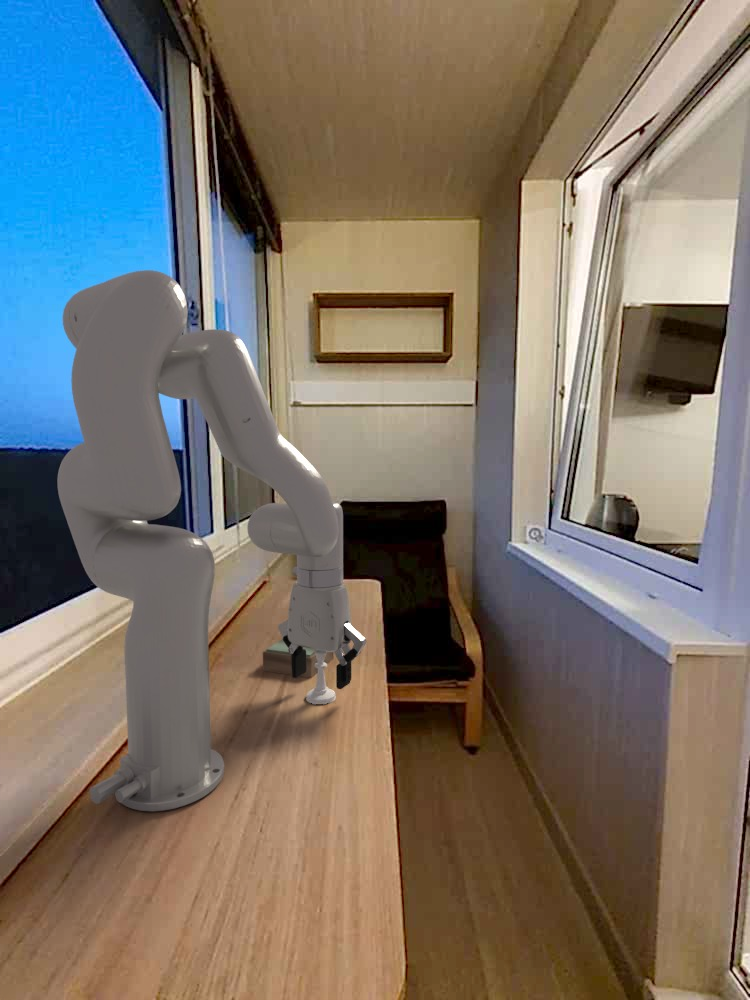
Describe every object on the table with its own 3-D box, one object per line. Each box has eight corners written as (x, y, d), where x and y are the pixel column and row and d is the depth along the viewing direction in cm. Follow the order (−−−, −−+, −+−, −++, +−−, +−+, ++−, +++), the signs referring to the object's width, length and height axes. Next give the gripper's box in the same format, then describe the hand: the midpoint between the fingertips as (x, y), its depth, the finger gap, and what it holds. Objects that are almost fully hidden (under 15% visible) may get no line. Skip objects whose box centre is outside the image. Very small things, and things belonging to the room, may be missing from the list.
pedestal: (311, 677, 98) (311, 656, 98) (263, 670, 102) (262, 649, 101) (333, 658, 108) (333, 638, 107) (288, 652, 111) (288, 633, 111)
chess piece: (331, 706, 87) (330, 645, 86) (301, 703, 88) (301, 643, 87) (339, 693, 92) (339, 635, 91) (311, 690, 93) (311, 633, 92)
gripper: (263, 575, 89) (265, 678, 91) (353, 588, 81) (353, 700, 82) (291, 567, 96) (292, 663, 97) (377, 578, 88) (377, 683, 89)
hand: (320, 680), depth 90 cm, fingers open, 8 cm apart
